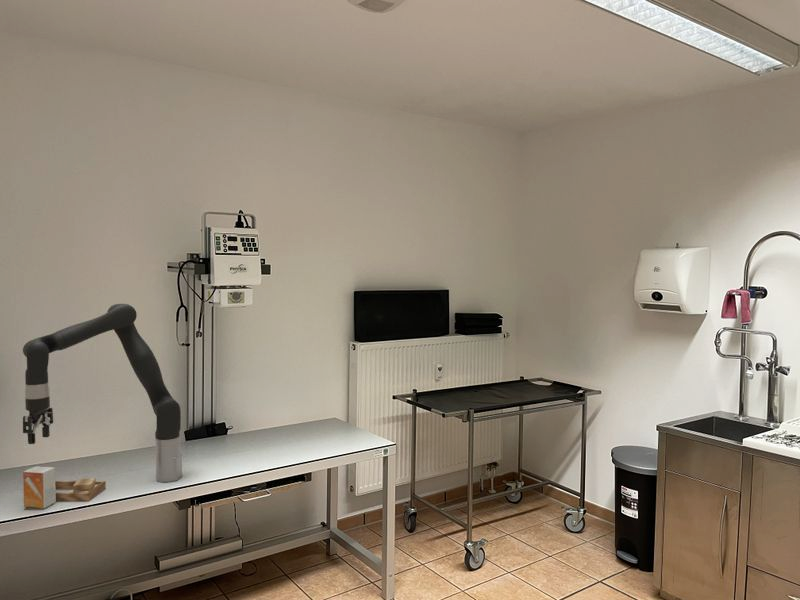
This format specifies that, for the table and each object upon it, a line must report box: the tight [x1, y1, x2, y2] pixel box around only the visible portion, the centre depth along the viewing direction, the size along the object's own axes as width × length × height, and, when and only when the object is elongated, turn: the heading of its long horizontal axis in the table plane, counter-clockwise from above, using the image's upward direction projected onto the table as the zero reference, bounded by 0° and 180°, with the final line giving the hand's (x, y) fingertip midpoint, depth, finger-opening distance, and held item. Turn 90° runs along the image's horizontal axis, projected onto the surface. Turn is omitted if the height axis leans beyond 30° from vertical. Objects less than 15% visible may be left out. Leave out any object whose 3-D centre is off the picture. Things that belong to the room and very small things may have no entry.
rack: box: [55, 480, 107, 503], centre depth 229 cm, size 23×13×6 cm, turn 90°
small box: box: [22, 465, 57, 509], centre depth 218 cm, size 8×6×13 cm
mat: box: [24, 504, 53, 511], centre depth 218 cm, size 7×7×1 cm
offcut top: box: [73, 477, 97, 492], centre depth 229 cm, size 6×7×2 cm
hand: (39, 440), depth 218 cm, fingers open, 8 cm apart
